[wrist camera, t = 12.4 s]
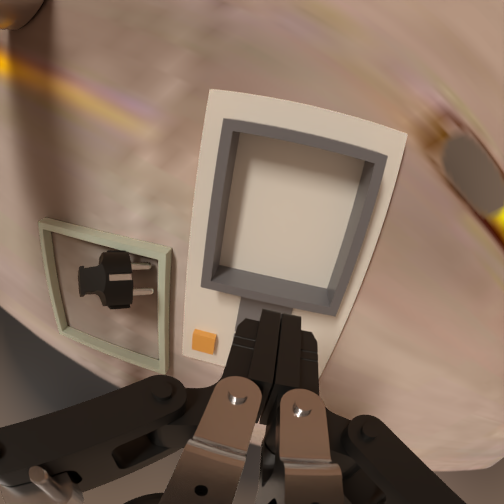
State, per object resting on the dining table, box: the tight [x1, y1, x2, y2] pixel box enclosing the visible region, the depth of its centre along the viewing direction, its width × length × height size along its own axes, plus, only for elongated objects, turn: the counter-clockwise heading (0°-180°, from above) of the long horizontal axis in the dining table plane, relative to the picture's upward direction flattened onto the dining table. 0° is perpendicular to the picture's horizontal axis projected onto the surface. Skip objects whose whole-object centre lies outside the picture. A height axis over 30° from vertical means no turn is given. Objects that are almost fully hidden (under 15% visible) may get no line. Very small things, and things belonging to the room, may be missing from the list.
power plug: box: [78, 250, 154, 309], centre depth 30 cm, size 6×8×12 cm
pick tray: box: [38, 217, 172, 375], centre depth 33 cm, size 18×18×2 cm
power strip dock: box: [182, 89, 408, 378], centre depth 26 cm, size 28×16×4 cm, turn 170°
